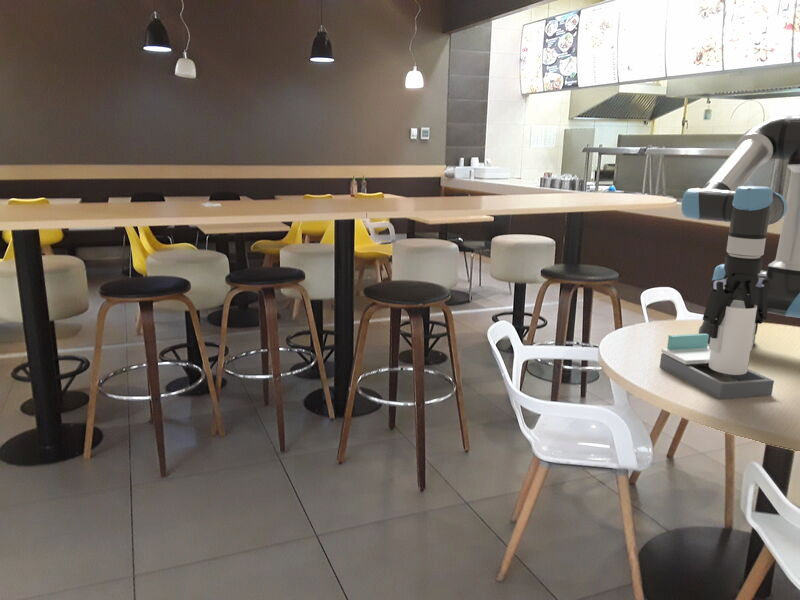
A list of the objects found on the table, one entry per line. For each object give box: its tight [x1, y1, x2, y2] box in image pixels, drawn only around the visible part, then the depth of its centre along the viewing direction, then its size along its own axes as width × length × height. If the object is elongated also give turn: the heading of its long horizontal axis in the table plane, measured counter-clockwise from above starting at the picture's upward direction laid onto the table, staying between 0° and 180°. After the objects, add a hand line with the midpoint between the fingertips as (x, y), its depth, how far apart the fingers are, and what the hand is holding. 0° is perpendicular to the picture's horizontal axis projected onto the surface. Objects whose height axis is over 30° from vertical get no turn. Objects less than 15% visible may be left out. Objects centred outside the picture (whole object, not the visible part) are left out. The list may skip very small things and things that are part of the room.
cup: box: [708, 300, 757, 375], centre depth 147 cm, size 8×8×16 cm
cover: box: [661, 333, 711, 365], centre depth 158 cm, size 14×9×4 cm
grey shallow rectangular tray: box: [659, 352, 775, 400], centre depth 153 cm, size 14×22×4 cm, turn 13°
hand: (730, 349), depth 148 cm, fingers closed on cup, 8 cm apart
